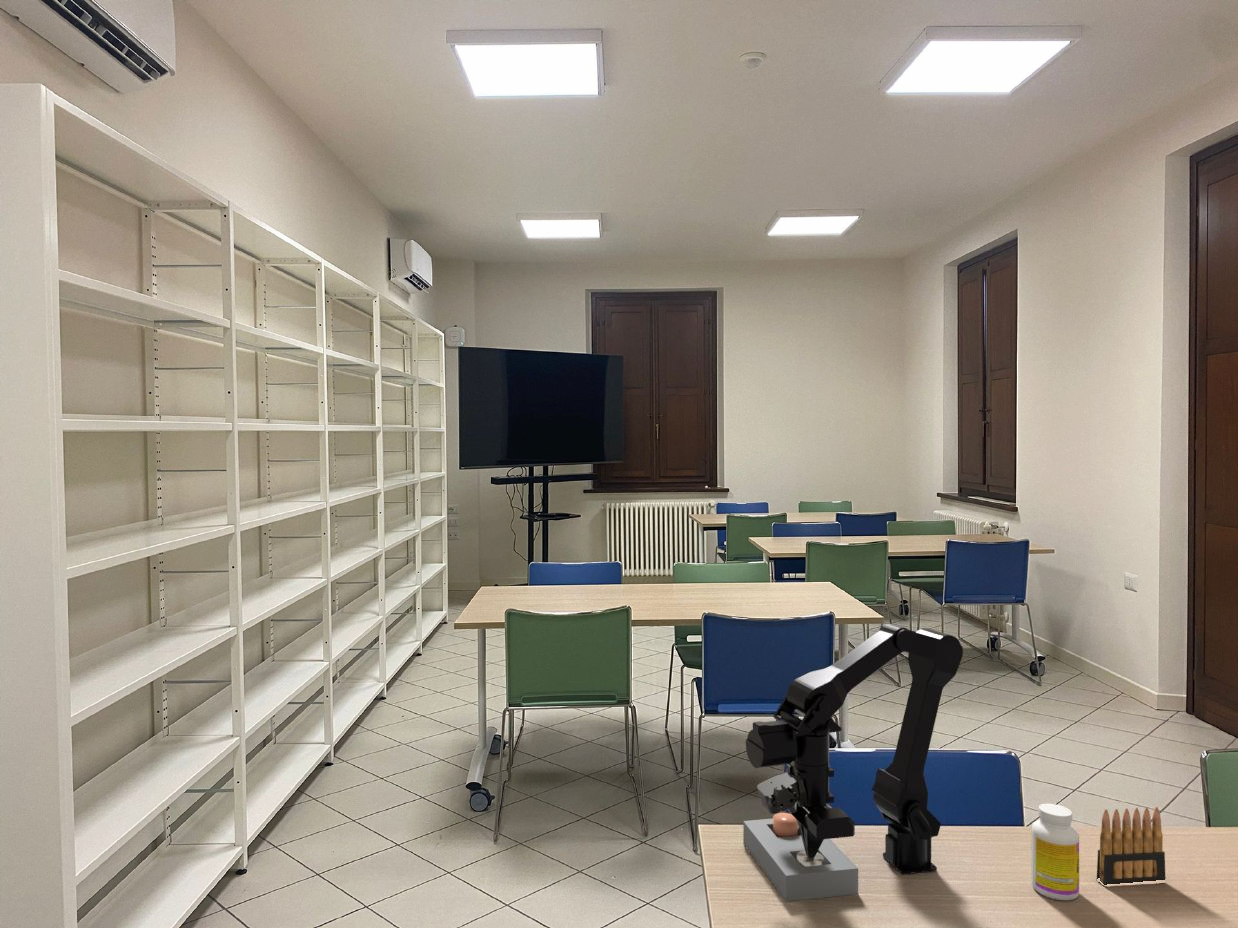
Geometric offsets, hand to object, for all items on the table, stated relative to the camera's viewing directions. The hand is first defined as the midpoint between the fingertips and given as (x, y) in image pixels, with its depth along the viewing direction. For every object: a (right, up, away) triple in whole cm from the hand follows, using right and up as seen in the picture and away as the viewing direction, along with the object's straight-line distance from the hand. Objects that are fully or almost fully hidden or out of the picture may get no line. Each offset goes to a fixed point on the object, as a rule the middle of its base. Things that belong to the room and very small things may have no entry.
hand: (810, 856), depth 129 cm
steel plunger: (0, -3, 0) cm, 3 cm away
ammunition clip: (+52, -5, 0) cm, 52 cm away
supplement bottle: (+38, -5, -2) cm, 38 cm away
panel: (-1, -4, +5) cm, 7 cm away
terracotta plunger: (-2, -1, +10) cm, 10 cm away
